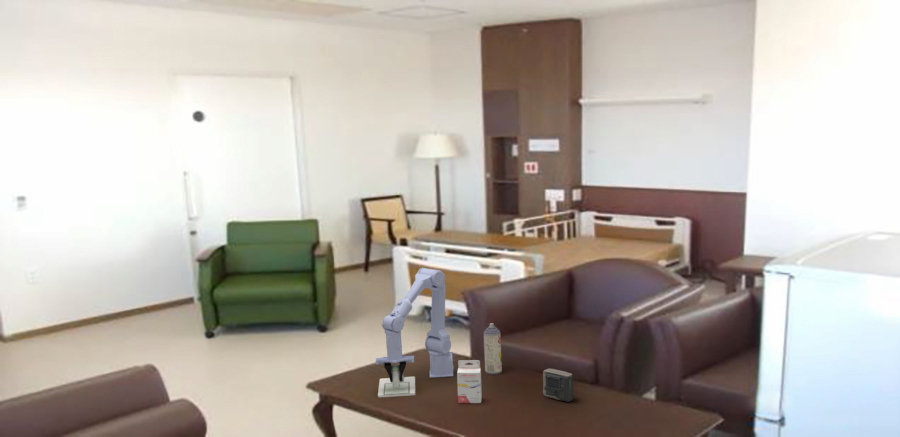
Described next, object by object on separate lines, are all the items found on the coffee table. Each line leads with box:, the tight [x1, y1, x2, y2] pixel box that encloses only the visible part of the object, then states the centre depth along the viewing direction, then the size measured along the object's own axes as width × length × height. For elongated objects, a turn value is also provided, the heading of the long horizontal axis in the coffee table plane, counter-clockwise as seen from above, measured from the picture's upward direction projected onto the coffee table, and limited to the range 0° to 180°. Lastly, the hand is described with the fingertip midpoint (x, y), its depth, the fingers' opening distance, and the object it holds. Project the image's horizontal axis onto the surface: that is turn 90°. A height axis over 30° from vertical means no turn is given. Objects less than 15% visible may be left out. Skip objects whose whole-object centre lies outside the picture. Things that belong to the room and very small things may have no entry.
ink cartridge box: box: [456, 359, 483, 404], centre depth 260 cm, size 9×5×15 cm, turn 84°
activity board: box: [377, 374, 416, 398], centre depth 277 cm, size 14×18×3 cm
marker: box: [391, 364, 400, 388], centre depth 273 cm, size 3×3×8 cm
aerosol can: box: [483, 322, 503, 375], centre depth 289 cm, size 7×7×20 cm
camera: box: [542, 368, 574, 403], centre depth 259 cm, size 11×6×10 cm, turn 47°
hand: (396, 381), depth 273 cm, fingers closed on marker, 3 cm apart
